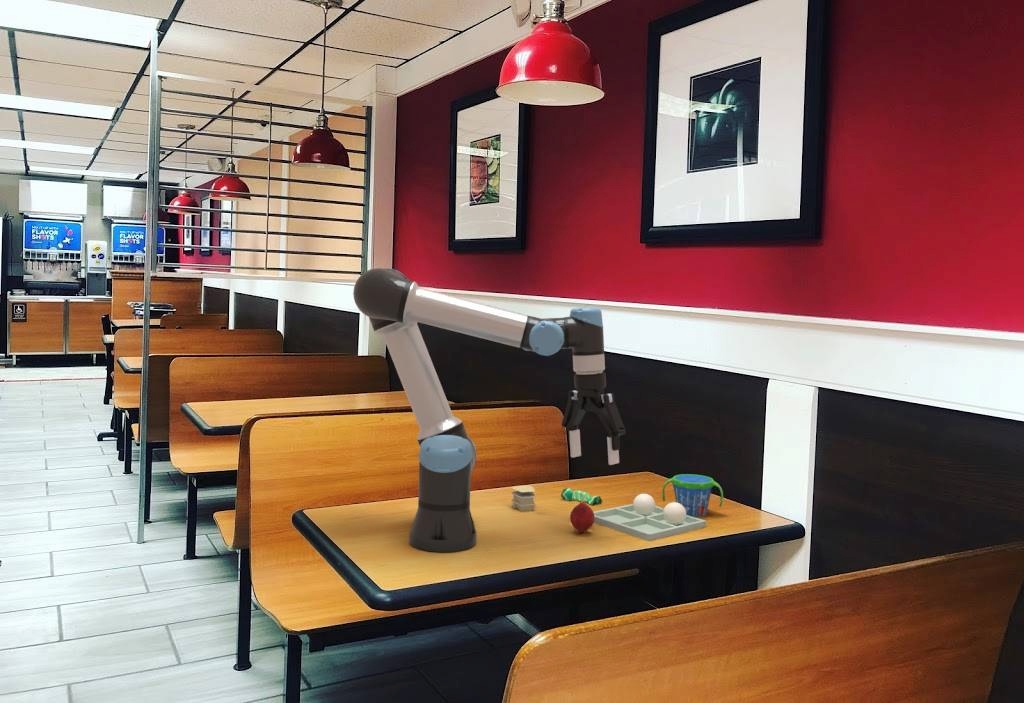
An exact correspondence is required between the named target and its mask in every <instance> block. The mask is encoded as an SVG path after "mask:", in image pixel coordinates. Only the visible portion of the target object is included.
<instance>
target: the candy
mask: <svg viewBox="0 0 1024 703" xmlns="http://www.w3.org/2000/svg"><path fill="white" fill-rule="evenodd" d="M560 497H561V499H562V500H563V499H564V501H567V500H569V501H571V500H572V501H573V502H581V500H585V501H586V504H587V503H588V505H590V506H594V505H593V504H595V503H596V504H598V505H599V504H600V505H602V503H603V499H602V497H601V496H599V495H593V496H591V495H590V494H589V493H588V492H585V491H582V490H574V491H573V490H572V489H571V488H570V487H569V486H568V487H565V488H563V489H562V491H561V494H560Z"/></svg>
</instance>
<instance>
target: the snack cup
mask: <svg viewBox="0 0 1024 703" xmlns="http://www.w3.org/2000/svg"><path fill="white" fill-rule="evenodd" d="M669 483H672V487H673V491H674V498H675V502H677V503H680V504H681V505H682V506H683V507H684V508H685V510H686V515H688V516H691V517H695V518H701V517H706V516H707V515H708V514H707V513H708V510H709V505H710V500H711V494H712V488H713V487H717V488H718V489H719V492H720V499H719V500H720V501H719V507H720V508H721V507H722V505H723V501H724V491H723V488H722V487H721V485H720V484H719V483H718V482H716V481H715V480H714V479H713V478H712V477H710V476H706V475H701V474H692V473H691V474H690V473H689V474H688V473H686V474H685V473H684V474H683V473H681V474H676V475H674V476H673V477H671V478H669V479H668V480H667V481H665V483H664V484H663V486H662V490H661V491H662V492H661V497H662V498H661V499H662V501H663V502H665V501H666V497H665V487H667V485H668V484H669Z"/></svg>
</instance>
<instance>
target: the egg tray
mask: <svg viewBox="0 0 1024 703" xmlns="http://www.w3.org/2000/svg"><path fill="white" fill-rule="evenodd" d="M664 508H665V507H660V506H657V505H655V509H654V511H653V512H652V513H651V514H650V515H647V516H642V515H639V514H638V513H636V511H635V510H634V507H633V503H632V504H626V505H621V506H615V507H611V508H606V509H602V510H596V511H593V513H594V523H593V524H597V525H600V526H604V527H606V528H609V529H612V530H615V531H618V532H621V533H624V534H627V535H630V536H632V537H636V538H639V539H641V540H645V541H648V542H652V541H655V540H660V539H662V538H667V537H671V536H675V535H681V534H684V533H688V532H691V531H696V530H699V529H703V528H707V520H704V519H701V518H699V517H691V516H688V515H686V518H685V520H684V522H683V523H681V524H679V525H672V524H669V523H667V522H666V520H665V519H664V516H663V511H664Z"/></svg>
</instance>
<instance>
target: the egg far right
mask: <svg viewBox="0 0 1024 703" xmlns="http://www.w3.org/2000/svg"><path fill="white" fill-rule="evenodd" d="M663 508H664V511H663V516H664V519H665V520H666V522H667V523H669V524H672V525H679V524H681V523H683V522H684V520H685V518H686V510H685V508H684V507H683V506H682V505H681V504H680V503H677V502H676V501H672V502H670V503H667V504H666V505H665V507H663Z"/></svg>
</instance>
